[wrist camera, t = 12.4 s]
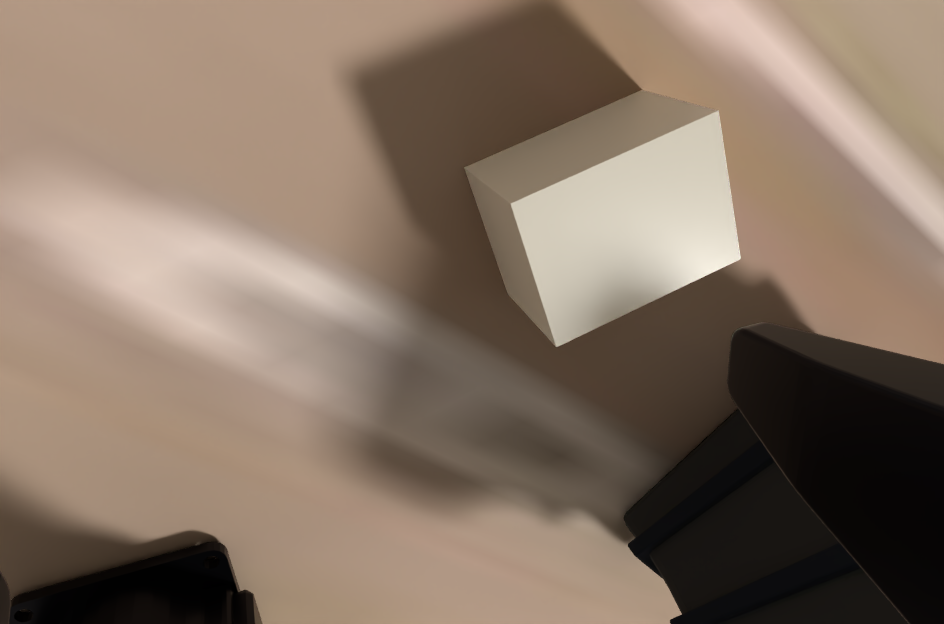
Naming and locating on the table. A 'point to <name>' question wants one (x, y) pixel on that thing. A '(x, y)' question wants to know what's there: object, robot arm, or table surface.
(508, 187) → the block
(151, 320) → the table surface
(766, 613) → the black flat block
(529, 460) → the table surface
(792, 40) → the table surface
